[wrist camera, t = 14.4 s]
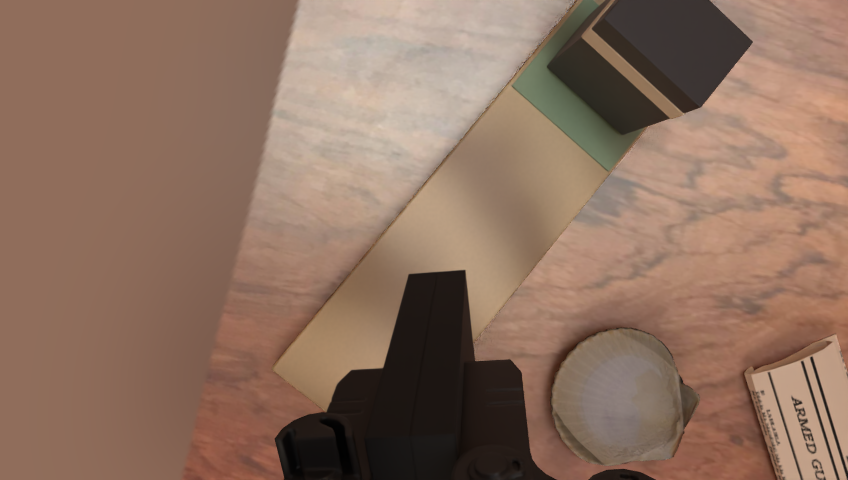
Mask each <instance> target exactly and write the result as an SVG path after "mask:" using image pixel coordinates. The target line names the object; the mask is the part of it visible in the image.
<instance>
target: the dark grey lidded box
mask: <svg viewBox="0 0 848 480" xmlns="http://www.w3.org/2000/svg"><path fill="white" fill-rule="evenodd" d="M752 43H753V42H752V40H750V39H749V38H748V37H747V36H746V35H745V34H744V33H743V32H742V31H741V30H740V29H739V28H738V27H737V26H736V25H735V24H734V23H733V22H732V21H730V20H729V19H728V18H727V17H726V16H725V15H724V14H723V13H722V12H721V11H720V10H719V9H718V8H717V7H716V6H715V5H714V4H713V3H711V2H710V1H709V0H605V1H604V2H603V3H602V4H601V5H600V6H599V7H597V8H596V9H595V10H594V11H593V12H592V13H591V14H590V15H589V16H588V17H587V18H586V19H585V20H584V22H583V23H582V24H581V25H580V27H579V28H578V29H577V30H576V31H575V33H574V34H573V35H572V36H571V37H570V39H569V40H568V41H567V42H566V43H565V45H564V46H563V47H562V48H561V49H560V51H559V52H558V53H557V54H556V55H555V57H554V58H553V59H552V60H551V61H550V63H549V64H548V65H547V68H548V69H549V70H551V71H552V72H553V73H554V74H555V75H556V76H557V77H558V78H559V79H561V80H562V81H563V82H564V83H565V84H566V85H567V86H568V87H569V88H571V89H572V90H573V91H574V92H575V93H576V94H577V95H578V96H579V97H581V98H582V99H583V100H584V101H585V102H586V103H587V104H588V105H589V106H591V107H592V108H593V109H594V110H595V111H596V112H597V113H598V114H599V115H601V116H602V117H603V118H604V119H605V120H606V121H607V122H608V123H609V124H611V125H612V126H613V127H614V128H615V129H616V130H617V131H618V132H619V133H621V134H622V135H625V134H628V133H630V132H633V131H636V130H639V129H642V128H644V127H647V126H650V125H653V124H656V123H658V122H661V121H664V120H667V119H673V118H676V117H679V116H682V115H684V114H685V113H686V112H689V111H692V110H695V109H698V108H700V107H702V105H703V104H704V103H705V102H706V100H707V99H708V98H709V97H710V95H711V94H712V93H713V92H714V90H715V89H716V88H717V87H718V85H719V84H720V83H721V82H722V80H723V79H724V78H725V77H726V75H727V74H728V73H729V72H730V70H731V69H732V68H733V67H734V65H735V64H736V63H737V62H738V60H739V59H740V58H741V57H742V55H743V54H744V53H745V52H746V50H747V49H748V48H749V47H750V45H751V44H752Z"/></svg>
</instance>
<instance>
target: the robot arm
mask: <svg viewBox="0 0 848 480" xmlns="http://www.w3.org/2000/svg"><path fill="white" fill-rule="evenodd" d="M275 442H276V446H277V450H278V454H279V458H280V462H281V466H282V470H283V474H284V478H285V479H284V480H556V479H554V478H552V477H550V476H549V475H547V474H545V473H544V472H543V471H542V470H540V469H539V468H538V467H537V465H536V464H535V462H534V461H533V460H532V456H531V453H530V447H529V438H528V428H527V419H526V410H525V401H524V391H523V382H522V373H521V371H520V370H519V369H518V368H517V367H516V365H515V364H514V363H513V362H512V361H511V360H510V359H509V360H491V361H475V356H474V347H473V337H472V327H471V318H470V308H469V299H468V289H467V279H466V270H455V271H442V272H428V273H415V274H409V275H408V278H407V282H406V286H405V290H404V293H403V297H402V301H401V304H400V308H399V312H398V315H397V319H396V323H395V326H394V330H393V334H392V337H391V341H390V345H389V348H388V352H387V356H386V359H385V363H384V367H383V368H375V369H357V370H351V371H350V372H349V373H348V374H347V375H346V376H345V377H343V378H342V379H341V380H340V381H339V382H338V383H337V385H336V388H335V391H334V393H333V396H332V399H331V402H330V404H329V406H328V409H327V412H321V413H315V414H309V415H306V416H304V417H301V418H299V419H296V420H294V421H292V422H291V423H290V424H288V425H287V426H285V427H284V428H283V429H282V430H281V431H280V432H279V434H278V435H277V436H276V438H275ZM589 480H655V479H653V478H651V477H649V476H647V475H645V474H643V473H641V472H637V471H632V470H627V469H614V470H606V471H603V472H600V473H598V474H595V475H593V476H592V477H591V478H590V479H589Z"/></svg>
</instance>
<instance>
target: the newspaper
mask: <svg viewBox="0 0 848 480" xmlns="http://www.w3.org/2000/svg"><path fill="white" fill-rule="evenodd" d="M744 374H745V378H746V381H747V384H748V387H749V390H750V394H751V397H752V400H753V403H754V406H755V410H756V413H757V416H758V419H759V422H760V426H761V429H762V432H763V435H764V439H765V442H766V445H767V448H768V451H769V455H770V458H771V461H772V464H773V467H774V471H775V474H776V477H777V480H848V373H847V369H846V366H845V363H844V359H843V356H842V353H841V350H840V346H839V343H838V340H837V336H836V334H834V335H832V336H830V337H827V338H825V339H822V340H819V341H816V342H814V343H811V345H809V346H807V347H806V348H804V349H802V350H800V351H798V352H796V353H794V354H792V355H790V356H789V357H787V358H785V359H783V360H781V361H778V362H776V363H773V364H770V365H767V366H766V365H764V366H762V367H760V368H758V369H756V370H755V371H754V370H753V366H752V367H750V368H748V369H747V370H746V371H745V373H744Z"/></svg>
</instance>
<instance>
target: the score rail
mask: <svg viewBox="0 0 848 480" xmlns="http://www.w3.org/2000/svg"><path fill="white" fill-rule="evenodd" d="M604 1H605V0H577V1H576V2H575V4H574V5H573V6H572V7H571V8H570V10H569V11H568V12H567V13H566V14H565V16H564V17H563V18H562V19H561V20H560V22H559V23H558V24H557V25H556V26H555V28H554V29H553V30H552V31H551V32H550V34H549V35H548V36H547V37H546V38H545V40H544V41H543V42H542V43H541V44H540V46H539V47H538V48H537V49H536V50H535V52H534V53H533V54H532V55H531V56H530V58H529V59H528V60H527V61H526V62H525V64H524V65H523V66H522V67H521V68H520V70H519V71H518V72H517V73H516V74H515V76H514V77H513V78H512V79H511V80H510V82H509V83H508V84H507V85H506V86H505V88H504V89H503V90H502V91H501V92H500V94H499V95H498V96H497V97H496V98H495V100H494V101H493V102H492V103H491V104H490V106H489V107H488V108H487V109H486V110H485V112H484V113H483V114H482V115H481V116H480V118H479V119H478V120H477V121H476V122H475V124H474V125H473V126H472V127H471V128H470V130H469V131H468V132H467V133H466V134H465V136H464V137H463V138H462V139H461V140H460V142H459V143H458V144H457V145H456V146H455V148H454V149H453V150H452V151H451V152H450V154H449V155H448V156H447V157H446V158H445V160H444V161H443V162H442V163H441V164H440V166H439V167H438V168H437V169H436V170H435V172H434V173H433V174H432V175H431V176H430V178H429V179H428V180H427V181H426V182H425V184H424V185H423V186H422V187H421V188H420V190H419V191H418V192H417V193H416V194H415V196H414V197H413V198H412V199H411V200H410V202H409V203H408V204H407V205H406V206H405V208H404V209H403V210H402V211H401V212H400V214H399V215H398V216H397V217H396V218H395V220H394V221H393V222H392V223H391V224H390V226H389V227H388V228H387V229H386V230H385V232H384V233H383V234H382V235H381V236H380V238H379V239H378V240H377V241H376V242H375V244H374V245H373V246H372V247H371V248H370V250H369V251H368V252H367V253H366V254H365V256H364V257H363V258H362V259H361V260H360V262H359V263H358V264H357V265H356V266H355V268H354V269H353V270H352V271H351V273H350V274H349V275H348V276H347V277H346V279H345V280H344V281H343V282H342V283H341V285H340V286H339V287H338V288H337V289H336V291H335V292H334V293H333V294H332V295H331V297H330V298H329V299H328V300H327V301H326V303H325V304H324V305H323V306H322V307H321V309H320V310H319V311H318V312H317V313H316V315H315V316H314V317H313V318H312V319H311V321H310V322H309V323H308V324H307V325H306V327H305V328H304V329H303V330H302V331H301V333H300V334H299V335H298V336H297V337H296V339H295V340H294V341H293V342H292V343H291V345H290V346H289V347H288V348H287V349H286V351H285V352H284V353H283V354H282V355H281V357H280V358H279V359H278V360H277V361H276V363H275V364H274V365H273V367H272V370H273V371H274V372H275V373H276V374H278V375H279V376H280V377H282V378H283V379H284V380H285V381H287V382H288V383H289V384H290V385H292V386H293V387H294V388H296V389H297V390H298V391H299V392H301V393H302V394H303V395H305V396H306V397H307V398H308V399H310V400H311V401H312V402H313V403H315V404H316V405H317V406H319V407H320V408H321V409H322V410H324V411H325V412H327V409H328V406H329V404H330V402H331V399H332V396H333V393H334V391H335V388H336V385H337V383H338V382H339V381H340V380H341V379H342V378H343V377H345V376H346V375H347V374H348V373H349V372H350V371H351V370H357V369H375V368H383V367H384V363H385V359H386V356H387V352H388V348H389V345H390V341H391V337H392V334H393V330H394V326H395V323H396V319H397V315H398V312H399V308H400V304H401V301H402V297H403V293H404V290H405V286H406V282H407V278H408V275H409V274H415V273H428V272H442V271H455V270H466V279H467V289H468V299H469V308H470V318H471V327H472V337H473V343H474V342H475V340H476V339H477V338H478V337H479V335H480V334H481V333H482V332H483V330H484V329H485V328H486V327H487V325H488V324H489V323H490V322H491V320H492V319H493V318H494V317H495V316H496V314H497V313H498V312H499V311H500V309H501V308H502V307H503V306H504V304H505V303H506V302H507V301H508V299H509V298H510V297H511V296H512V294H513V293H514V292H515V291H516V289H517V288H518V287H519V286H520V285H521V283H522V282H523V281H524V280H525V278H526V277H527V276H528V275H529V273H530V272H531V271H532V270H533V268H534V267H535V266H536V265H537V263H538V262H539V261H540V260H541V259H542V257H543V256H544V255H545V254H546V252H547V251H548V250H549V249H550V247H551V246H552V245H553V244H554V242H555V241H556V240H557V239H558V237H559V236H560V235H561V234H562V232H563V231H564V230H565V229H566V228H567V226H568V225H569V224H570V223H571V221H572V220H573V219H574V218H575V216H576V215H577V214H578V213H579V211H580V210H581V209H582V208H583V206H584V205H585V204H586V203H587V201H588V200H589V199H590V198H591V197H592V195H593V194H594V193H595V192H596V190H597V189H598V188H599V187H600V185H601V184H602V183H603V182H604V180H605V179H606V178H607V177H608V175H609V174H610V173H611V172H612V171H613V169H614V168H615V167H616V166H617V164H618V163H619V162H620V161H621V159H622V158H623V157H624V156H625V154H626V153H627V152H628V151H629V149H630V148H631V147H632V146H633V144H634V143H635V142H636V141H637V140H638V138H639V137H640V136H641V135H642V133H643V132H644V131H645V130H646V128H647V127H648V126H647V127H644V128H642V129H639V130H636V131H633V132H630V133H628V134H625V135H622V134H621V133H619V132H618V131H617V130H616V129H615V128H614V127H613V126H612V125H611V124H609V123H608V122H607V121H606V120H605V119H604V118H603V117H602V116H601V115H599V114H598V113H597V112H596V111H595V110H594V109H593V108H592V107H591V106H589V105H588V104H587V103H586V102H585V101H584V100H583V99H582V98H581V97H579V96H578V95H577V94H576V93H575V92H574V91H573V90H572V89H571V88H569V87H568V86H567V85H566V84H565V83H564V82H563V81H562V80H561V79H559V78H558V77H557V76H556V75H555V74H554V73H553V72H552V71H551V70H549V69H548V68H547V65H548V64H549V63H550V61H551V60H552V59H553V58H554V57H555V55H556V54H557V53H558V52H559V51H560V49H561V48H562V47H563V46H564V45H565V43H566V42H567V41H568V40H569V39H570V37H571V36H572V35H573V34H574V33H575V31H576V30H577V29H578V28H579V27H580V25H581V24H582V23H583V22H584V20H585V19H586V18H587V17H588V16H589V15H590V14H591V13H592V12H593V11H594V10H595V9H596V8H597V7H599V6H600V5H601V4H602V3H603V2H604Z"/></svg>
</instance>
